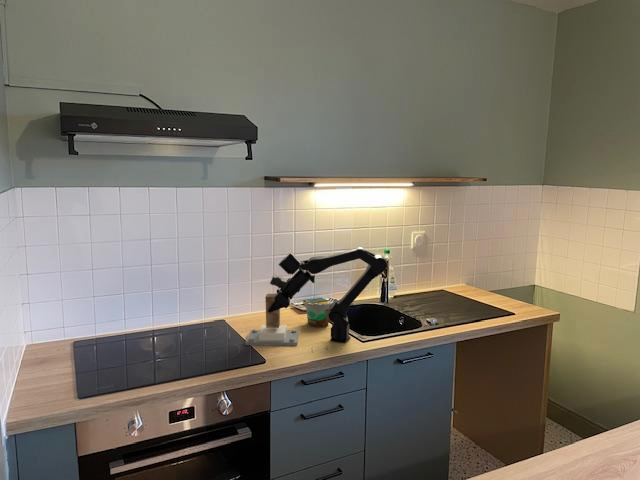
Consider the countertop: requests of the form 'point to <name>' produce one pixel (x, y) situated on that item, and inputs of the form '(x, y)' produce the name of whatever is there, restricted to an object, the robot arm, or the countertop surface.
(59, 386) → the countertop surface
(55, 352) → the countertop surface
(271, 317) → the walnut brick
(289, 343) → the base brick
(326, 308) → the food container
